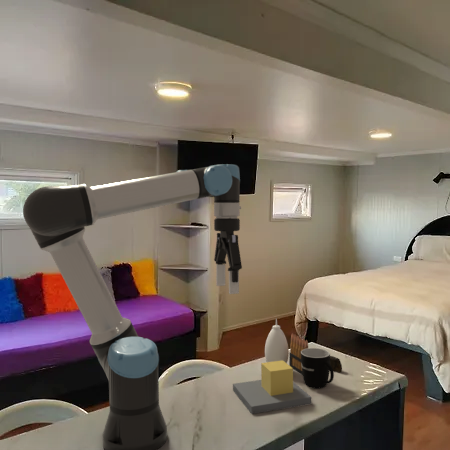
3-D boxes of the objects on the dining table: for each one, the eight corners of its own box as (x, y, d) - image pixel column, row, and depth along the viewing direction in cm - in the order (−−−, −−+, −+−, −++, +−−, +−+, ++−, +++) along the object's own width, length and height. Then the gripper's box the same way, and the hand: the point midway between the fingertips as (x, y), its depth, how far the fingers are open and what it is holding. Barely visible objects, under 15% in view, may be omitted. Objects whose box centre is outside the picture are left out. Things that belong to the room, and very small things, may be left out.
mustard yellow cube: (270, 395, 123) (270, 371, 123) (261, 386, 129) (261, 363, 129) (293, 392, 125) (292, 368, 125) (283, 383, 132) (282, 360, 131)
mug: (295, 382, 136) (294, 351, 136) (316, 376, 141) (316, 346, 141) (321, 396, 126) (321, 362, 126) (343, 389, 131) (343, 356, 130)
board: (251, 414, 116) (251, 390, 116) (232, 390, 132) (232, 369, 131) (311, 404, 122) (311, 381, 121) (286, 382, 137) (286, 362, 137)
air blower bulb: (292, 370, 147) (292, 317, 146) (280, 377, 141) (279, 322, 141) (274, 364, 152) (273, 314, 152) (260, 371, 146) (260, 318, 146)
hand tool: (296, 359, 158) (296, 346, 158) (304, 357, 161) (304, 344, 160) (335, 375, 143) (335, 362, 142) (344, 373, 145) (344, 359, 144)
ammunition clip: (310, 376, 141) (310, 340, 141) (305, 377, 141) (305, 341, 140) (293, 365, 151) (293, 331, 151) (289, 366, 151) (288, 332, 150)
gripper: (253, 218, 116) (253, 296, 117) (227, 216, 140) (227, 281, 141) (226, 218, 114) (226, 298, 115) (204, 217, 138) (204, 283, 139)
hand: (227, 289), depth 128 cm, fingers open, 13 cm apart
